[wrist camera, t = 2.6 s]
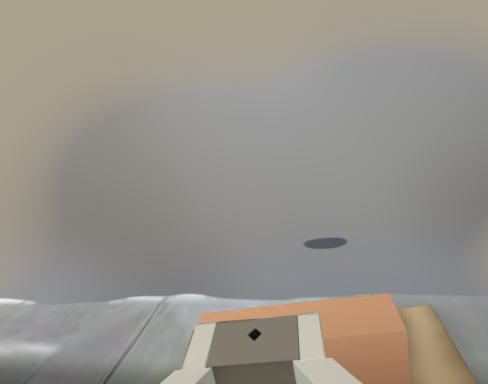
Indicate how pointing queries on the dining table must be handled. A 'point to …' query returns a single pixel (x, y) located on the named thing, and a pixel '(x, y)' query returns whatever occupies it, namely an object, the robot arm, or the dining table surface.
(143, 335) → the dining table surface
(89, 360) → the dining table surface
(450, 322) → the dining table surface
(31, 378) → the dining table surface
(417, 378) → the oak board
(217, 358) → the robot arm
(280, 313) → the terracotta tile
